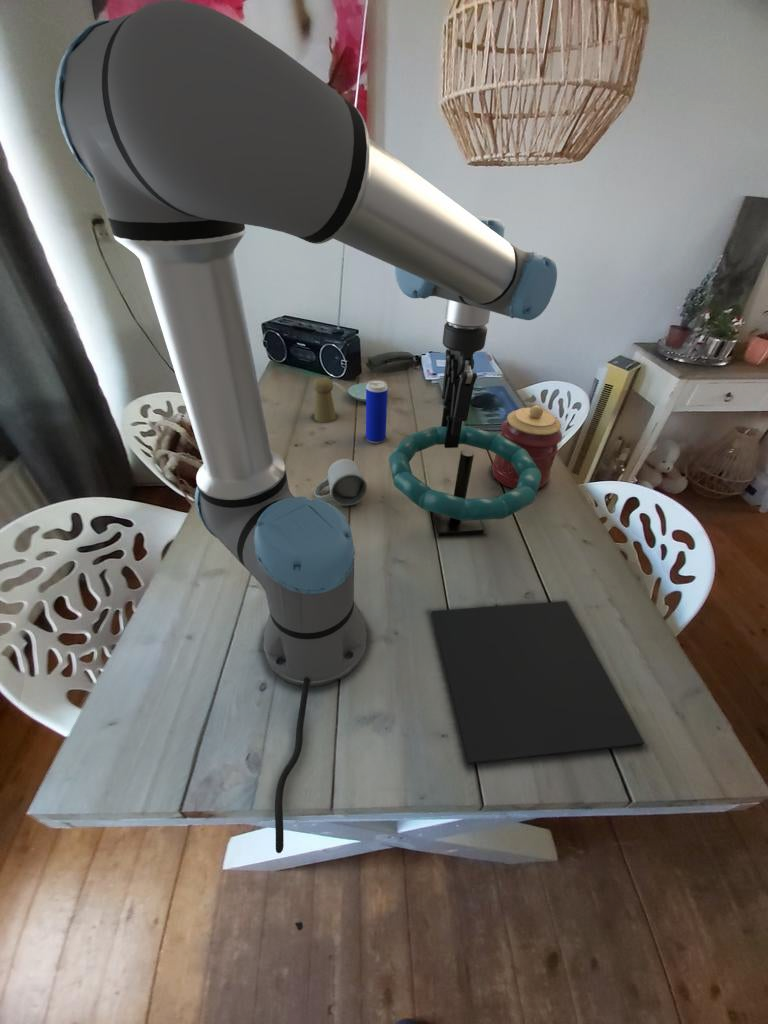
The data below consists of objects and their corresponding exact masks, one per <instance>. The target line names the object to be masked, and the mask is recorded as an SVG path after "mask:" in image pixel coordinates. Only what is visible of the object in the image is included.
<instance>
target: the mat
mask: <svg viewBox="0 0 768 1024" xmlns="http://www.w3.org/2000/svg"><path fill="white" fill-rule="evenodd" d="M431 617H432V622H433V625H434V629H435V633H436V634H435V635H436V637H437V641H438V646H439V651H440V654H441V658H442V659H441V660H442V662H443V667H444V670H445V674H446V678H447V684H448V686H449V691H450V695H451V699H452V704H453V707H454V712H455V715H456V720H457V724H458V728H459V732H460V736H461V740H462V745H463V748H464V749H463V750H464V753H465V757H466V760H467V764H468V765H475V764H476V765H478V764H487V763H494V762H502V761H503V762H505V761H512V760H513V761H514V760H522V759H531V758H540V757H541V758H542V757H548V756H558V755H567V754H577V753H585V752H593V751H601V750H602V751H604V750H611V749H619V748H621V749H622V748H629V747H638V746H643V745H644V744H645V742H644V740H643V738H642V736H641V734H640V733H639V731H638V729H637V727H636V725H635V723H634V722H633V719H632V718H631V716H630V714H629V712H628V710H627V709H626V707H625V705H624V704H623V702H622V700H621V698H620V696H619V694H618V693H617V691H616V688H615V687H614V685H613V683H612V682H611V679H610V678H609V676H608V674H607V673H606V671H605V669H604V667H603V665H602V663H601V662H600V660H599V658H598V656H597V654H596V653H595V651H594V648H593V647H592V645H591V643H590V641H589V640H588V638H587V636H586V635H585V632H584V631H583V629H582V627H581V625H580V623H579V622H578V619H577V618H576V615H575V614H574V613H573V610H572V608H571V607H570V605H569V603H568V601H567V600H564V601H550V602H538V603H537V602H536V603H524V604H509V605H496V606H495V605H494V606H483V607H467V608H454V609H442V610H441V609H439V610H431Z"/></svg>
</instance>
